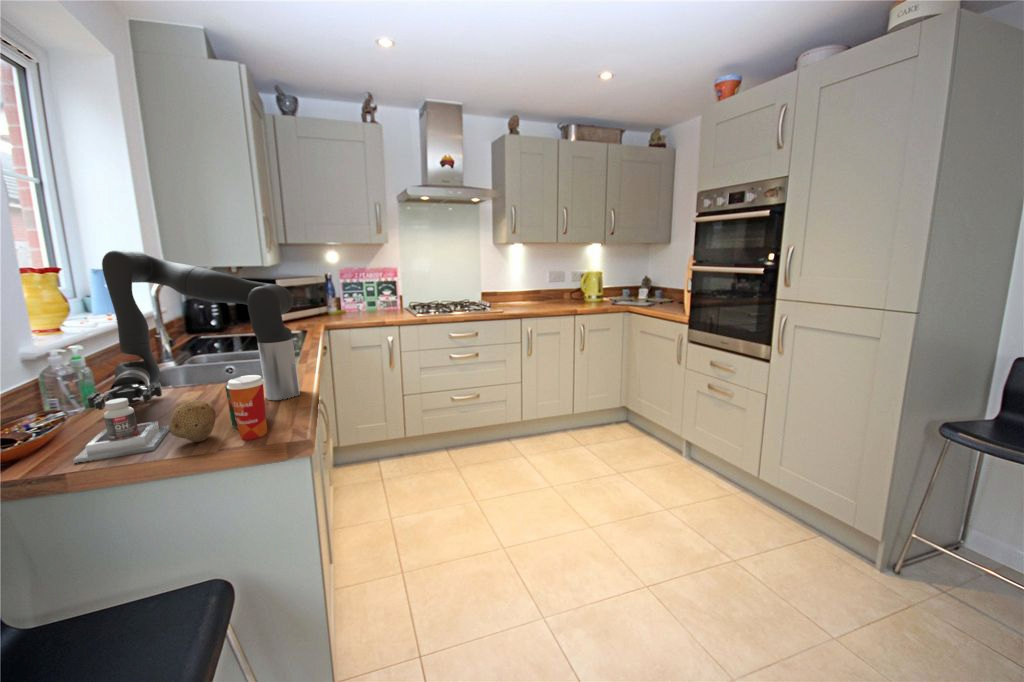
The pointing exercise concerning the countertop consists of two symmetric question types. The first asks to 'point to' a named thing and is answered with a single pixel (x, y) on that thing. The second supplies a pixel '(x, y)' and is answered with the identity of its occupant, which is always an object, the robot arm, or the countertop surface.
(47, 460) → the countertop surface
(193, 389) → the countertop surface
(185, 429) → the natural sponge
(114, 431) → the pill bottle
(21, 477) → the countertop surface
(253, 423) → the paper cup
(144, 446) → the duct collar
